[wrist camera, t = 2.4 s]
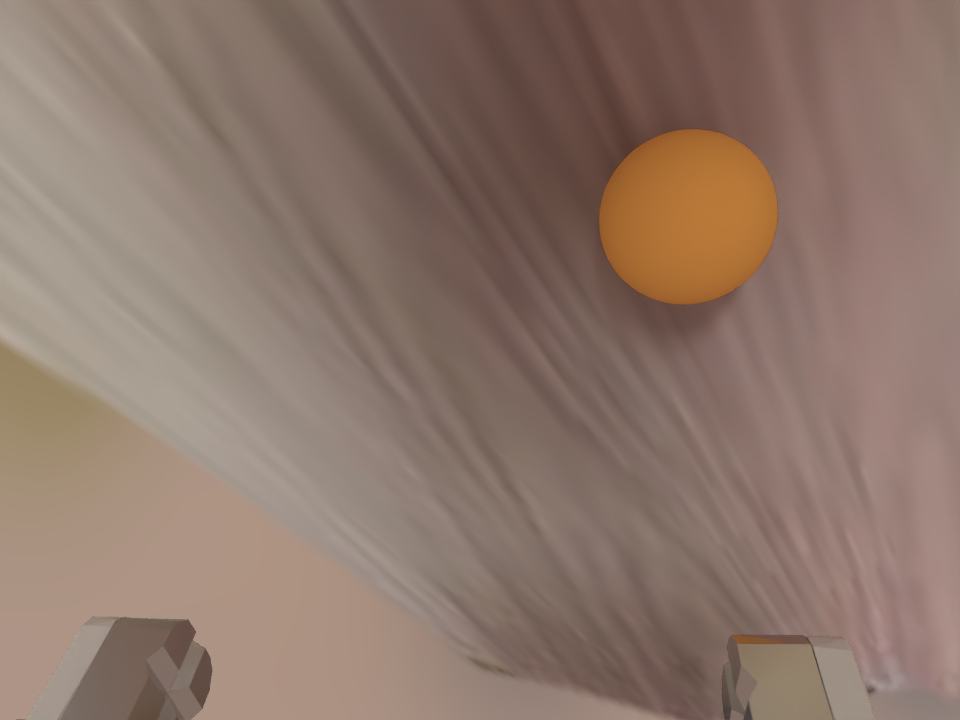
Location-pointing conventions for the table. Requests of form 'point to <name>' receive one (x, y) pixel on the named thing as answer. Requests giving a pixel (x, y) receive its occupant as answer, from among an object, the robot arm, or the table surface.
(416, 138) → the table surface
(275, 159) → the table surface
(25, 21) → the table surface
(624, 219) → the ball
